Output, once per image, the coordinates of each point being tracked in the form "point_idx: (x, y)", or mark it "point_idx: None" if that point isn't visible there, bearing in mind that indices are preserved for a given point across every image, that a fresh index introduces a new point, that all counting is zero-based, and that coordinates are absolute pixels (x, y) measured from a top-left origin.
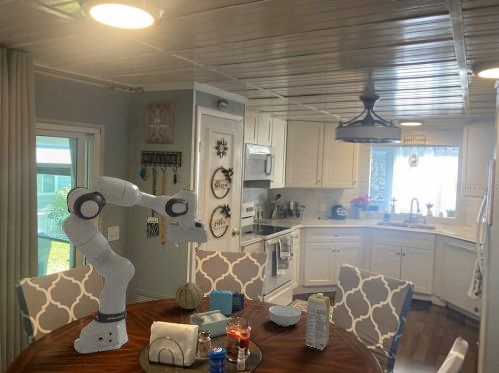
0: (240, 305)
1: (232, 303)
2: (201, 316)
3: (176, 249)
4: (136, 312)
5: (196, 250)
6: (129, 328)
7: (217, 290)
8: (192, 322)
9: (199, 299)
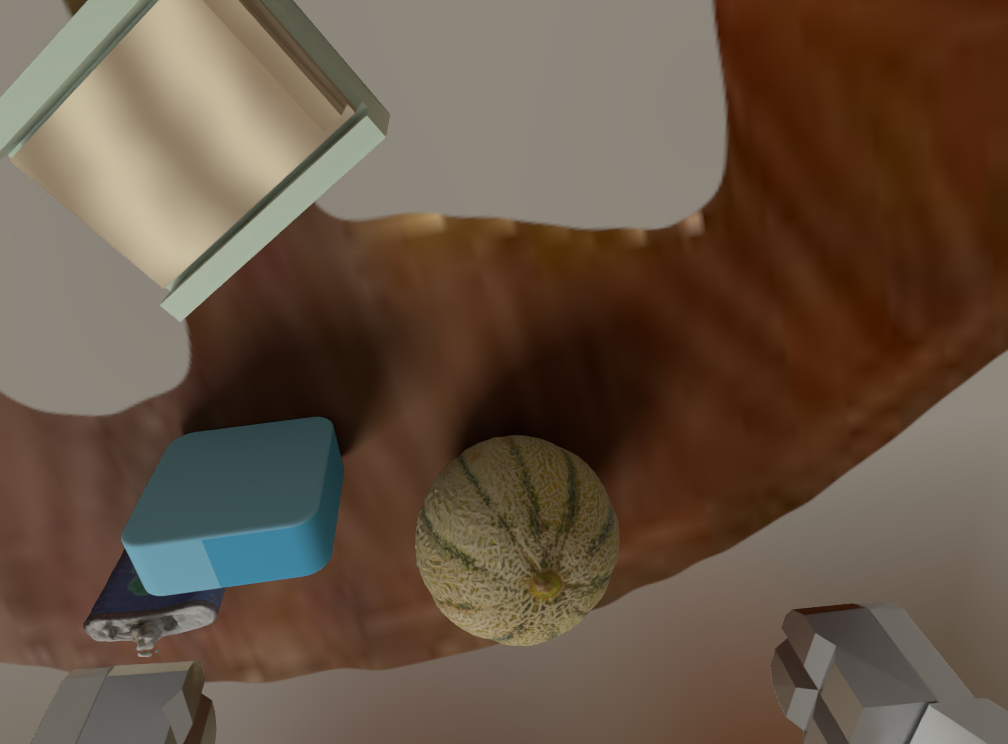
0: None
1: None
2: (289, 166)
3: (897, 622)
4: (836, 338)
5: (121, 691)
6: (853, 43)
7: (269, 579)
8: (354, 89)
9: (424, 507)
